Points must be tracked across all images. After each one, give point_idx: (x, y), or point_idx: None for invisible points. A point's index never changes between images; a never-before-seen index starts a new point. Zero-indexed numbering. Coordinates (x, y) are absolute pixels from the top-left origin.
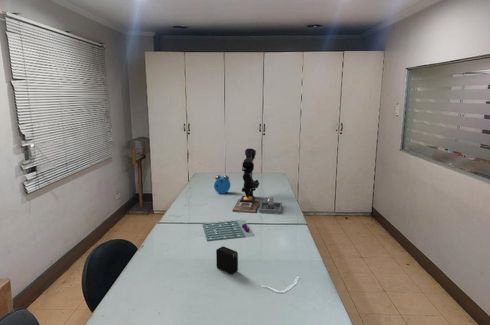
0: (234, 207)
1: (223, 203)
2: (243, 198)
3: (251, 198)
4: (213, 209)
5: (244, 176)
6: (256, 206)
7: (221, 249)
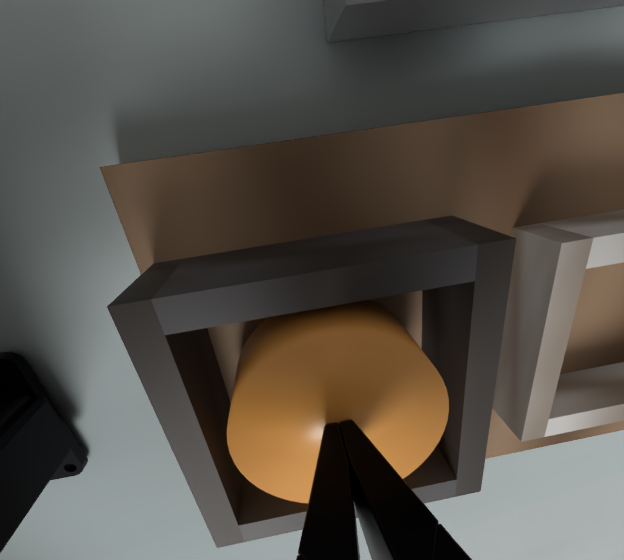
0: (594, 430)
1: None
2: None
3: (382, 340)
4: (570, 547)
5: None
6: (572, 111)
7: None
